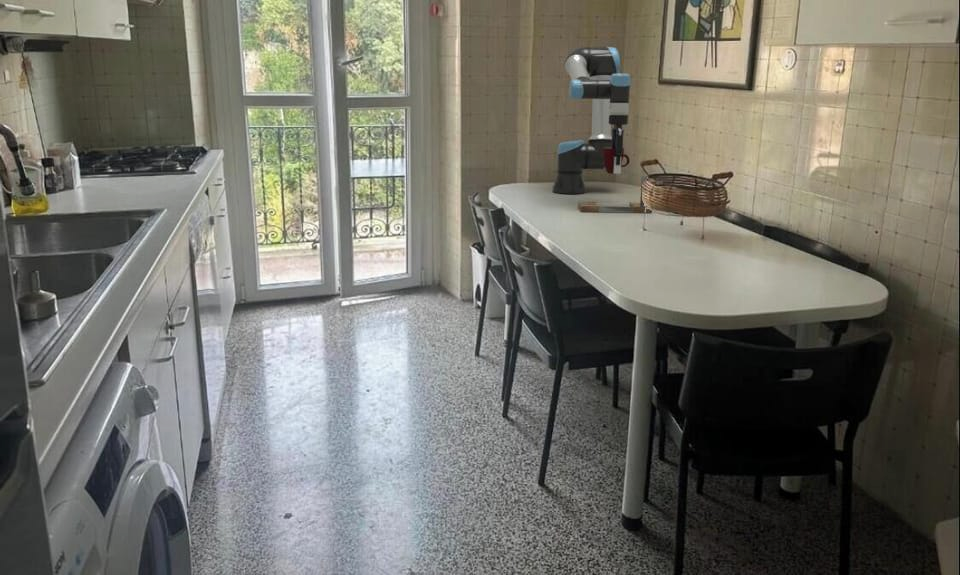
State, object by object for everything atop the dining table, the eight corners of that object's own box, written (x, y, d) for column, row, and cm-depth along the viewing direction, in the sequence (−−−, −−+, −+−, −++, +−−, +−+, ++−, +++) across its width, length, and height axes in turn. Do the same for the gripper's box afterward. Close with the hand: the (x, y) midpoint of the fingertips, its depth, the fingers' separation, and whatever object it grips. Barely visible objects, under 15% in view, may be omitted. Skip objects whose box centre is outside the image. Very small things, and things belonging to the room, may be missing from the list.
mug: (624, 172, 295) (625, 147, 293) (631, 173, 288) (632, 148, 285) (599, 172, 294) (600, 147, 291) (606, 174, 286) (607, 148, 284)
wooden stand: (578, 207, 299) (579, 172, 296) (646, 208, 298) (648, 173, 294) (581, 212, 286) (582, 175, 283) (652, 213, 285) (654, 176, 282)
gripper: (605, 114, 295) (603, 170, 301) (612, 114, 275) (609, 174, 281) (624, 114, 295) (621, 170, 300) (632, 114, 275) (628, 174, 280)
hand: (615, 172), depth 291 cm, fingers closed on mug, 8 cm apart
